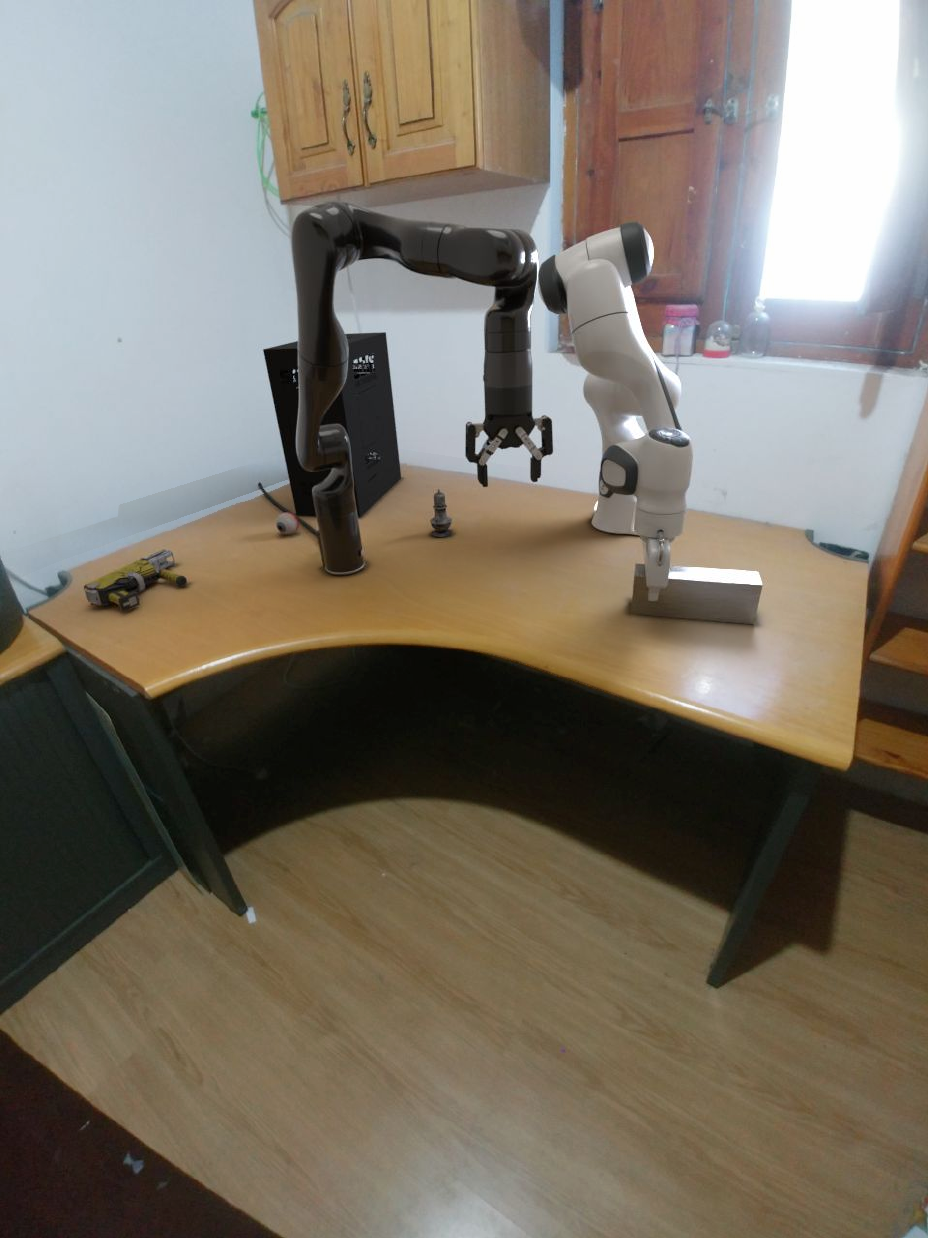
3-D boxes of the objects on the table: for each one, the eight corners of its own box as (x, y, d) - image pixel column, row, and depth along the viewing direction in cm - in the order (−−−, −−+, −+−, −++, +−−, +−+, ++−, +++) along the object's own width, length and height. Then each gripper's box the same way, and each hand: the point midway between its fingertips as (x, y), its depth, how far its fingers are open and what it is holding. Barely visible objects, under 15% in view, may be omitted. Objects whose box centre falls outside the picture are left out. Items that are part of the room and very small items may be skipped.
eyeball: (273, 537, 164) (268, 516, 161) (287, 528, 169) (282, 508, 166) (291, 539, 161) (286, 518, 158) (305, 530, 166) (301, 510, 163)
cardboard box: (360, 517, 174) (335, 347, 151) (296, 514, 178) (263, 349, 156) (401, 477, 205) (385, 332, 183) (345, 476, 210) (324, 334, 187)
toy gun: (210, 557, 146) (160, 546, 150) (132, 599, 126) (77, 585, 130) (213, 575, 148) (164, 564, 152) (137, 618, 128) (82, 604, 132)
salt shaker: (450, 537, 157) (447, 492, 151) (428, 536, 158) (424, 492, 152) (455, 529, 162) (452, 485, 156) (433, 528, 163) (430, 485, 157)
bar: (630, 613, 119) (634, 576, 114) (631, 600, 123) (635, 563, 119) (753, 624, 113) (762, 584, 109) (750, 609, 118) (758, 571, 113)
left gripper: (467, 388, 90) (472, 494, 98) (559, 381, 91) (556, 485, 99) (459, 381, 96) (464, 481, 104) (545, 374, 98) (544, 473, 106)
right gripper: (682, 544, 101) (672, 615, 108) (672, 503, 119) (664, 566, 126) (643, 542, 103) (636, 613, 110) (639, 502, 120) (633, 565, 127)
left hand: (509, 483), depth 102 cm, fingers open, 8 cm apart
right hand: (651, 588), depth 118 cm, fingers open, 8 cm apart
